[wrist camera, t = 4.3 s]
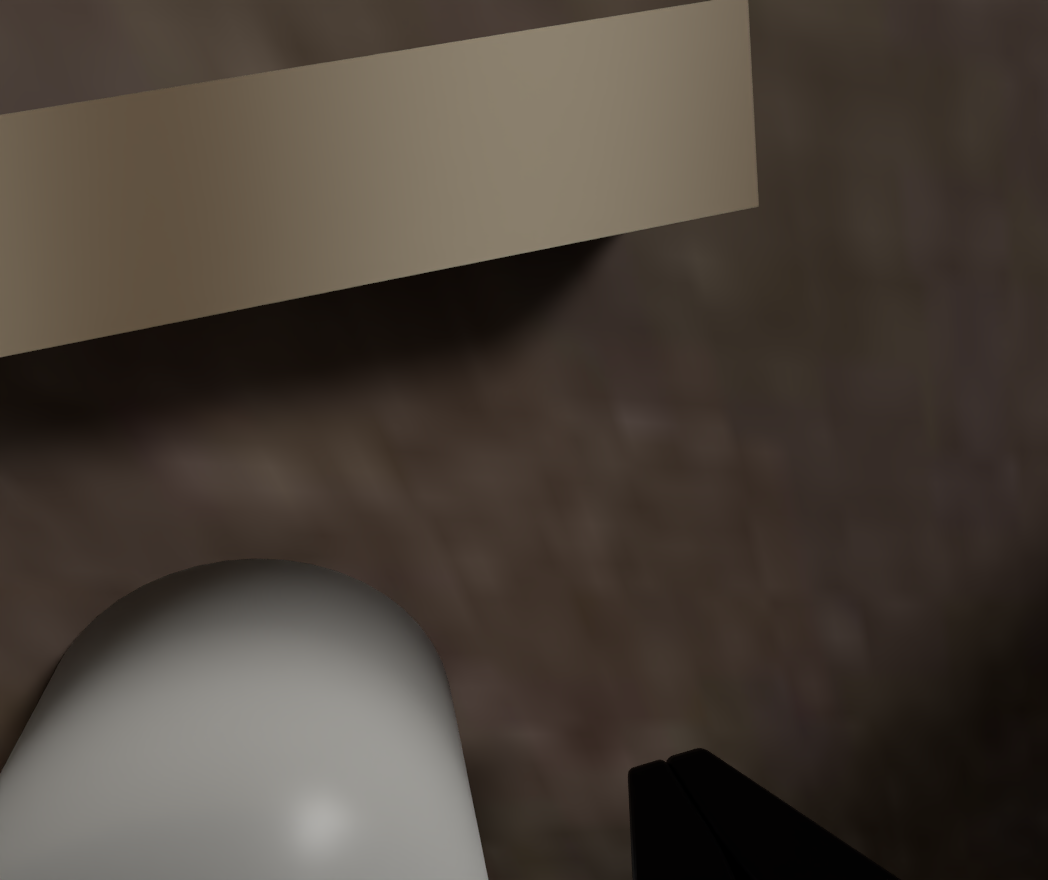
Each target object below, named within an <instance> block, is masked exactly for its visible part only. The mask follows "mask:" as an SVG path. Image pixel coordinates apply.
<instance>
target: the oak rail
mask: <svg viewBox="0 0 1048 880" xmlns="http://www.w3.org/2000/svg"><path fill="white" fill-rule="evenodd" d="M758 206H759V204H758V184H757V165H756V146H755V126H754V107H753V88H752V68H751V49H750V30H749V10H748V0H712V1H706V2H700V3H694V4H687V5H681V6H675V7H669V8H662V9H656V10H650V11H644V12H638V13H631V14H625V15H619V16H613V17H607V18H600V19H594V20H588V21H582V22H575V23H569V24H563V25H557V26H551V27H544V28H538V29H532V30H526V31H520V32H513V33H507V34H501V35H495V36H488V37H482V38H476V39H470V40H464V41H457V42H451V43H445V44H439V45H433V46H426V47H420V48H414V49H408V50H401V51H395V52H389V53H383V54H377V55H370V56H364V57H358V58H352V59H346V60H339V61H333V62H327V63H321V64H314V65H308V66H302V67H296V68H290V69H283V70H277V71H271V72H265V73H259V74H252V75H246V76H240V77H234V78H227V79H221V80H215V81H209V82H203V83H196V84H190V85H184V86H178V87H172V88H165V89H159V90H153V91H147V92H140V93H134V94H128V95H122V96H116V97H109V98H103V99H97V100H91V101H85V102H78V103H72V104H66V105H60V106H53V107H47V108H41V109H35V110H29V111H22V112H16V113H10V114H4V115H0V357H4V356H9V355H14V354H19V353H24V352H29V351H34V350H39V349H44V348H50V347H55V346H60V345H65V344H70V343H75V342H80V341H85V340H90V339H95V338H100V337H105V336H110V335H115V334H120V333H125V332H130V331H135V330H140V329H145V328H150V327H155V326H160V325H165V324H170V323H175V322H180V321H185V320H190V319H195V318H200V317H205V316H210V315H215V314H220V313H225V312H230V311H235V310H240V309H245V308H250V307H255V306H261V305H266V304H271V303H276V302H281V301H286V300H291V299H296V298H301V297H306V296H311V295H316V294H321V293H326V292H331V291H336V290H341V289H346V288H351V287H356V286H361V285H366V284H371V283H376V282H381V281H386V280H391V279H396V278H401V277H406V276H411V275H416V274H421V273H426V272H431V271H436V270H441V269H446V268H451V267H456V266H461V265H467V264H472V263H477V262H482V261H487V260H492V259H497V258H502V257H507V256H512V255H517V254H522V253H527V252H532V251H537V250H542V249H547V248H552V247H557V246H562V245H567V244H572V243H577V242H582V241H587V240H592V239H597V238H602V237H607V236H612V235H617V234H622V233H627V232H632V231H637V230H642V229H647V228H652V227H657V226H662V225H667V224H672V223H678V222H683V221H688V220H693V219H698V218H703V217H708V216H713V215H718V214H723V213H728V212H733V211H738V210H743V209H748V208H753V207H758Z"/></svg>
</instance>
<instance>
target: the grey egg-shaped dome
mask: <svg viewBox="0 0 1048 880" xmlns="http://www.w3.org/2000/svg"><path fill="white" fill-rule="evenodd" d="M0 880H488V876H487V871H486V866H485V861H484V856H483V851H482V846H481V841H480V836H479V831H478V826H477V821H476V816H475V811H474V806H473V801H472V796H471V791H470V786H469V781H468V776H467V771H466V766H465V761H464V756H463V751H462V746H461V741H460V736H459V731H458V726H457V721H456V716H455V711H454V706H453V701H452V696H451V691H450V686H449V681H448V678H447V675H446V672H445V669H444V666H443V663H442V661H441V659H440V657H439V655H438V653H437V651H436V649H435V647H434V645H433V643H432V642H431V640H430V639H429V638H428V636H427V635H426V634H425V632H424V631H423V629H422V628H421V627H420V625H419V624H418V623H417V622H416V621H415V620H414V619H413V618H412V617H411V616H410V615H409V614H408V613H407V612H406V611H405V610H404V609H403V608H402V607H400V606H399V605H398V604H396V603H395V602H394V601H392V600H391V599H390V598H389V597H387V596H386V595H385V594H383V593H381V592H380V591H378V590H376V589H374V588H373V587H371V586H369V585H367V584H366V583H364V582H362V581H360V580H357V579H355V578H352V577H350V576H348V575H345V574H343V573H340V572H338V571H334V570H331V569H327V568H324V567H320V566H316V565H313V564H307V563H301V562H295V561H288V560H276V559H242V560H227V561H221V562H216V563H210V564H205V565H199V566H195V567H192V568H188V569H185V570H182V571H179V572H175V573H172V574H169V575H167V576H164V577H162V578H160V579H157V580H155V581H153V582H150V583H148V584H146V585H143V586H142V587H140V588H138V589H136V590H135V591H133V592H131V593H130V594H128V595H126V596H124V597H123V598H121V599H119V600H118V601H117V602H115V603H114V604H113V605H111V606H110V607H109V608H107V609H106V610H105V611H104V612H102V613H101V614H100V615H98V616H97V617H96V618H95V619H94V620H93V621H92V622H91V623H90V624H89V625H88V626H87V627H86V628H85V629H84V630H83V631H82V632H81V633H80V634H79V635H78V636H77V638H76V639H75V640H74V642H73V643H72V645H71V646H70V647H69V649H68V650H67V651H66V653H65V654H64V655H63V657H62V659H61V661H60V663H59V664H58V666H57V668H56V670H55V672H54V674H53V676H52V678H51V679H50V681H49V683H48V685H47V687H46V689H45V691H44V692H43V694H42V696H41V698H40V700H39V702H38V704H37V706H36V707H35V709H34V711H33V713H32V715H31V717H30V719H29V720H28V722H27V724H26V726H25V728H24V730H23V732H22V734H21V735H20V737H19V739H18V741H17V743H16V745H15V747H14V749H13V750H12V752H11V754H10V756H9V758H8V760H7V762H6V763H5V765H4V767H3V769H2V771H1V773H0Z"/></svg>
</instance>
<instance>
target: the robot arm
mask: <svg viewBox="0 0 1048 880" xmlns="http://www.w3.org/2000/svg"><path fill="white" fill-rule="evenodd" d="M628 789H629V811H630V834H631V856H632V878H633V880H900V879H899V878H897V877H896V876H894V875H893V874H891V873H890V872H888V871H887V870H885V869H884V868H882V867H881V866H879V865H878V864H876V863H875V862H873V861H872V860H870V859H869V858H867V857H866V856H864V855H863V854H861V853H860V852H858V851H857V850H855V849H854V848H852V847H851V846H849V845H848V844H846V843H845V842H843V841H842V840H840V839H839V838H837V837H836V836H834V835H833V834H831V833H830V832H828V831H827V830H825V829H824V828H822V827H821V826H819V825H818V824H817V823H815V822H814V821H812V820H811V819H809V818H808V817H806V816H805V815H803V814H802V813H800V812H799V811H797V810H796V809H794V808H793V807H791V806H790V805H788V804H787V803H785V802H784V801H782V800H781V799H779V798H778V797H776V796H775V795H773V794H772V793H770V792H769V791H767V790H766V789H764V788H763V787H761V786H760V785H758V784H757V783H755V782H754V781H752V780H751V779H749V778H748V777H746V776H745V775H743V774H742V773H740V772H739V771H737V770H736V769H734V768H733V767H732V766H730V765H729V764H727V763H726V762H724V761H723V760H721V759H720V758H718V757H717V756H715V755H714V754H712V753H711V752H709V751H707V750H705V749H702V748H697V749H693V750H690V751H687V752H683V753H680V754H676V755H673V756H671V757H669V758H668V760H667V762H665V761H663V760H656V761H653V762H650V763H646V764H643V765H640V766H636V767H633V768H631V769H630V770H629V772H628Z"/></svg>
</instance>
